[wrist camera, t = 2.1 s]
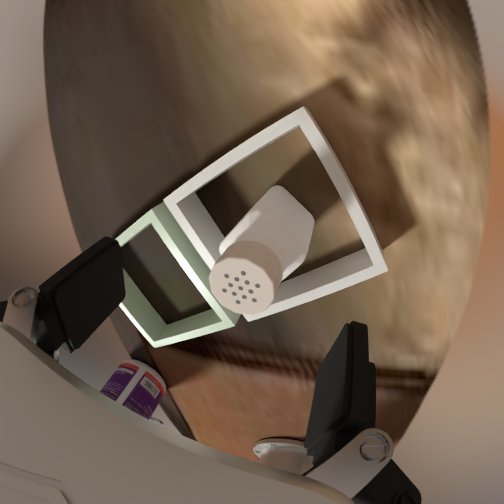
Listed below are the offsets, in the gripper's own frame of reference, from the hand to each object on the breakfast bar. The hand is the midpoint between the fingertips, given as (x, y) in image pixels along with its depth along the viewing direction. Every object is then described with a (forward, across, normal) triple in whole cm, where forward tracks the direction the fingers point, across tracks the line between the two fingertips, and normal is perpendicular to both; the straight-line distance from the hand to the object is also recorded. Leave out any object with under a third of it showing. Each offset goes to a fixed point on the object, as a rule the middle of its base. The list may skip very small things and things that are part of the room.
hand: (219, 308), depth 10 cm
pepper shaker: (+12, 0, +1) cm, 12 cm away
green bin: (+12, +9, +10) cm, 18 cm away
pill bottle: (+11, +13, +31) cm, 36 cm away
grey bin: (+12, 0, +1) cm, 12 cm away
